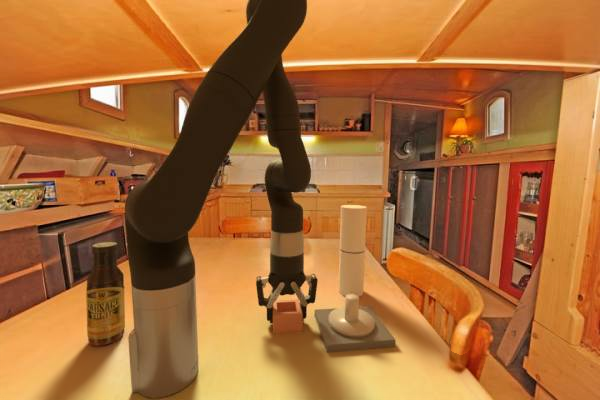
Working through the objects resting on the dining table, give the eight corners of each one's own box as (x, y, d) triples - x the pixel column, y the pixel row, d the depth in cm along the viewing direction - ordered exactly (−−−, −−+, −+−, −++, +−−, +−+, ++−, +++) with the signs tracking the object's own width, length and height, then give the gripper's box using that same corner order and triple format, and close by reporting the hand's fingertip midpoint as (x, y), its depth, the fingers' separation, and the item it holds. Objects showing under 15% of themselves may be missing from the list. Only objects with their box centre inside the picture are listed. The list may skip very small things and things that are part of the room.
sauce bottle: (83, 351, 50) (74, 250, 48) (93, 333, 56) (86, 242, 53) (124, 343, 53) (117, 246, 50) (130, 326, 58) (124, 239, 56)
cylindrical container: (344, 298, 72) (347, 208, 69) (334, 287, 79) (336, 205, 76) (367, 295, 74) (371, 208, 71) (356, 284, 81) (359, 204, 78)
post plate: (327, 352, 51) (327, 315, 50) (314, 315, 63) (315, 285, 63) (395, 346, 52) (397, 311, 52) (369, 312, 65) (370, 283, 64)
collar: (273, 332, 56) (272, 315, 56) (272, 316, 63) (272, 300, 62) (302, 330, 57) (302, 313, 57) (298, 315, 64) (298, 299, 63)
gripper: (253, 256, 53) (254, 332, 55) (322, 254, 55) (320, 328, 57) (254, 245, 61) (255, 313, 63) (315, 244, 63) (314, 310, 65)
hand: (286, 320), depth 60 cm, fingers closed on collar, 6 cm apart
